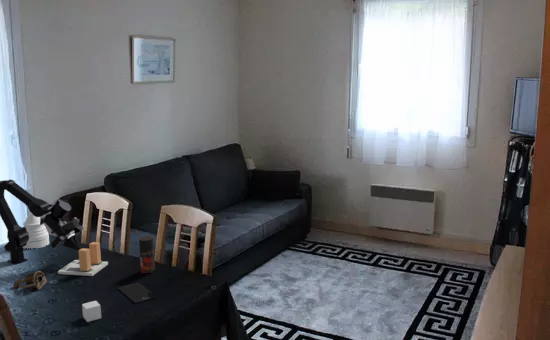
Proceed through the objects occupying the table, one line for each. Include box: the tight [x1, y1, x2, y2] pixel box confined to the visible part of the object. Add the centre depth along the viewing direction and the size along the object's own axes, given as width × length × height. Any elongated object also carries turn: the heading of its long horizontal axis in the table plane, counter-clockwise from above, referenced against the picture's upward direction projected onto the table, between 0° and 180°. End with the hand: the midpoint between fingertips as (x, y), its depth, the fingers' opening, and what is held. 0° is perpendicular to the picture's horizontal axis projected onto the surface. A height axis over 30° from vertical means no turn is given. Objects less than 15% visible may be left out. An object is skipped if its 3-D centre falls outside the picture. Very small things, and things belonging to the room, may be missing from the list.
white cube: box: [81, 300, 102, 323], centre depth 192 cm, size 5×5×5 cm
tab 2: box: [88, 241, 102, 264], centre depth 241 cm, size 4×3×9 cm
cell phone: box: [117, 282, 152, 305], centre depth 213 cm, size 9×18×1 cm, turn 37°
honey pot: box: [22, 212, 50, 250], centre depth 271 cm, size 13×13×18 cm
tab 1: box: [77, 247, 91, 271], centre depth 233 cm, size 4×3×9 cm
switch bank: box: [57, 259, 109, 277], centre depth 239 cm, size 16×14×1 cm
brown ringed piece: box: [13, 270, 48, 291], centre depth 219 cm, size 7×13×10 cm
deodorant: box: [138, 235, 156, 274], centre depth 234 cm, size 6×6×15 cm
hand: (80, 250), depth 242 cm, fingers closed
